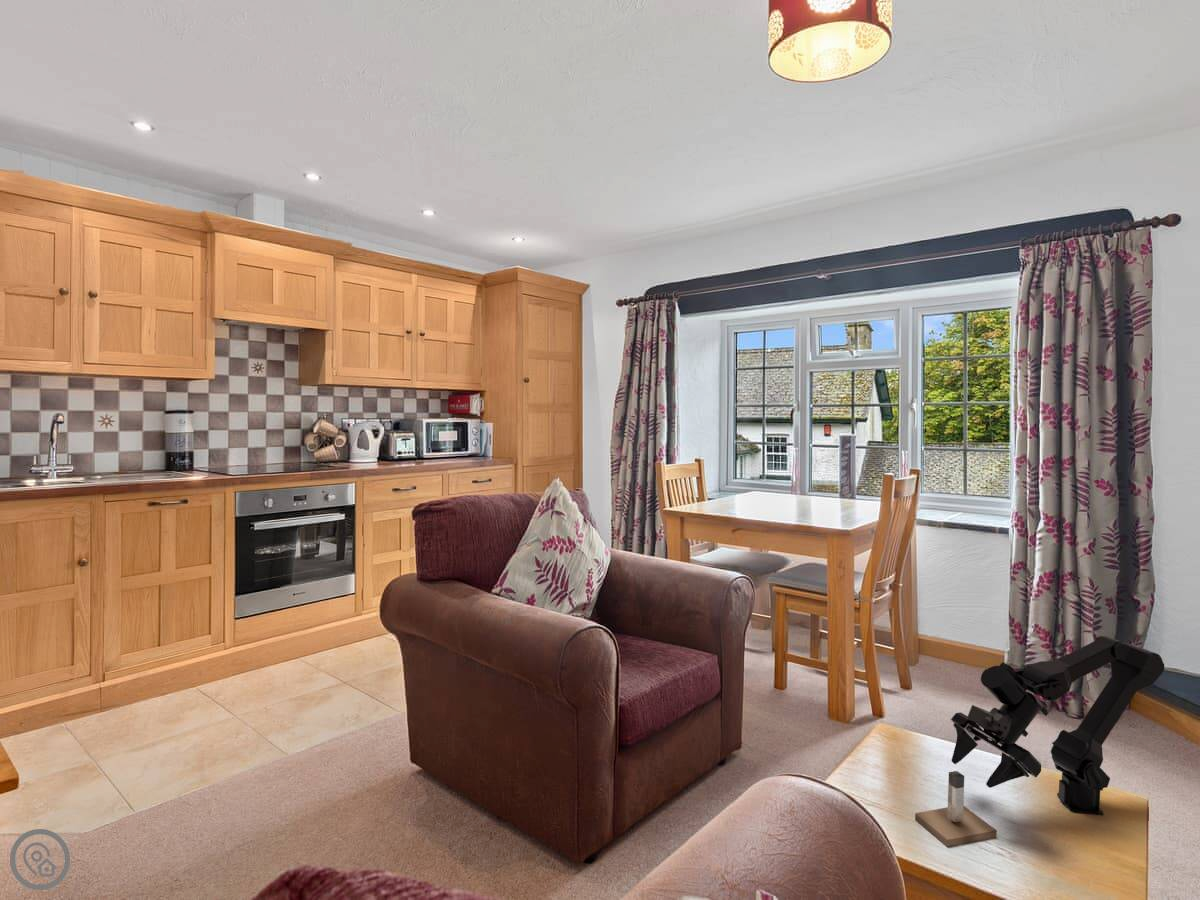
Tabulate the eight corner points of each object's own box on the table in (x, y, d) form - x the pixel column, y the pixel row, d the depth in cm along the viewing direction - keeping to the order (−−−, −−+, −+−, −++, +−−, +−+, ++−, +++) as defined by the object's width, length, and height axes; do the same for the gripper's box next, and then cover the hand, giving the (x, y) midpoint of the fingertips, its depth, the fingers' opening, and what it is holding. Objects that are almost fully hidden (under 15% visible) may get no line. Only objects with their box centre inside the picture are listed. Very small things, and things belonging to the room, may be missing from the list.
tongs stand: (962, 811, 144) (963, 759, 143) (996, 837, 135) (998, 781, 134) (915, 819, 141) (916, 766, 140) (947, 847, 132) (949, 790, 131)
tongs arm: (959, 817, 138) (960, 773, 138) (963, 820, 137) (964, 775, 137) (951, 819, 138) (952, 774, 137) (955, 822, 137) (956, 777, 136)
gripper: (958, 676, 149) (915, 730, 147) (1031, 713, 131) (984, 775, 129) (986, 706, 151) (944, 759, 149) (1062, 746, 133) (1016, 808, 131)
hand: (969, 774), depth 139 cm, fingers open, 9 cm apart
